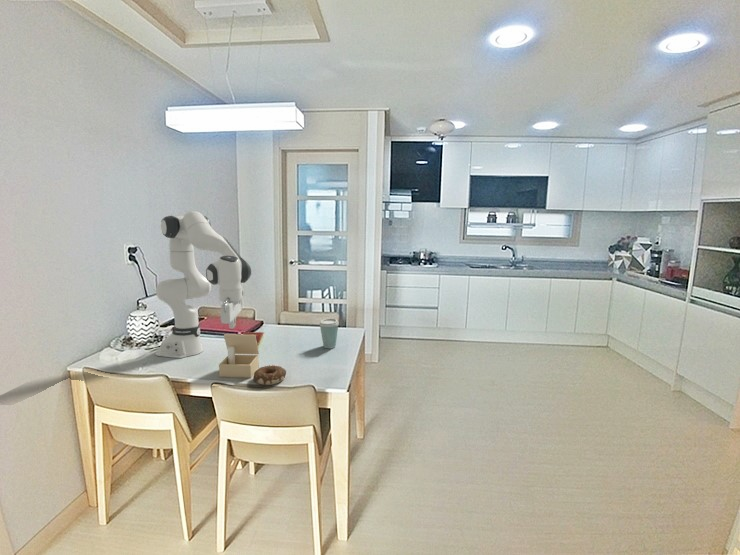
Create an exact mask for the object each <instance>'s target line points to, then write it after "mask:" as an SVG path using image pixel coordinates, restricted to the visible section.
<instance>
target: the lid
mask: <svg viewBox="0 0 740 555" xmlns="http://www.w3.org/2000/svg"><path fill="white" fill-rule="evenodd" d="M223 337H224V341H225V345H226V349H227V351H228V347H229V346H234V347H235V355H260V352H259V350H258V346H257V341H256V336H255V335H242V334H232V333H231V334H230V333H229V334H226V333H225V334H223Z"/></svg>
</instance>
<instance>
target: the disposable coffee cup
mask: <svg viewBox="0 0 740 555" xmlns="http://www.w3.org/2000/svg"><path fill="white" fill-rule="evenodd" d="M339 324H340V323H339V321H338V319H337V318H333V317H330V318H329V317H328V318H324V319H322V320H320V322H319V327H320V334H321V340H322V345H323V348H325V349H334V348H336V345H337V338H338V329H339Z"/></svg>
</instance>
